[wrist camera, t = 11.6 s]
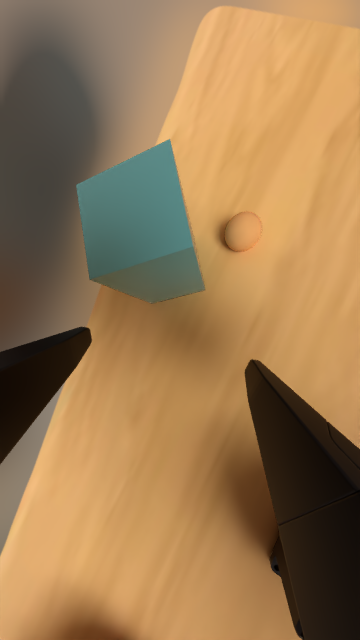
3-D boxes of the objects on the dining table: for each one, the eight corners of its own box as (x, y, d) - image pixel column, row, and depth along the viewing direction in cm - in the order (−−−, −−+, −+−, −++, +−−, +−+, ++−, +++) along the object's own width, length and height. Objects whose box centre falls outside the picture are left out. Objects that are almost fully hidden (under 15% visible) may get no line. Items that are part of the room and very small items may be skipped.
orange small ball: (262, 230, 16) (273, 206, 13) (249, 261, 16) (257, 244, 13) (230, 223, 17) (234, 198, 14) (219, 252, 17) (219, 234, 14)
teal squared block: (205, 289, 17) (193, 246, 8) (151, 303, 19) (89, 279, 10) (193, 236, 18) (170, 138, 9) (142, 253, 19) (76, 184, 10)
